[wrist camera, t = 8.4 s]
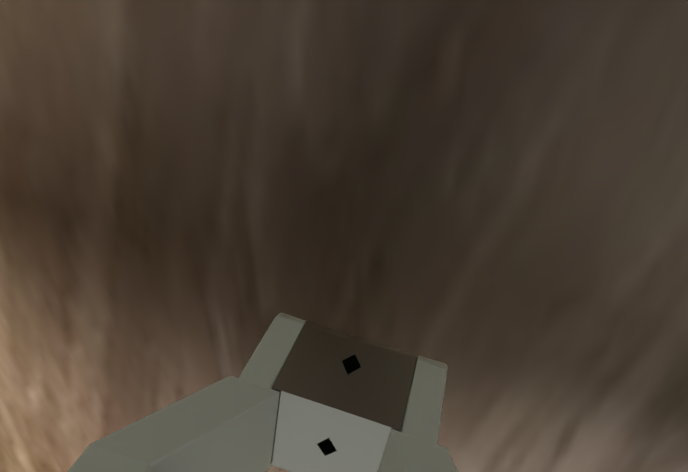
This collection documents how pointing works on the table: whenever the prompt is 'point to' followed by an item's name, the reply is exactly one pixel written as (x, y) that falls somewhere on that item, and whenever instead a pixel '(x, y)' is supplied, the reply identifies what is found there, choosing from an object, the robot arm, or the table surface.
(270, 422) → the robot arm
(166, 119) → the table surface
